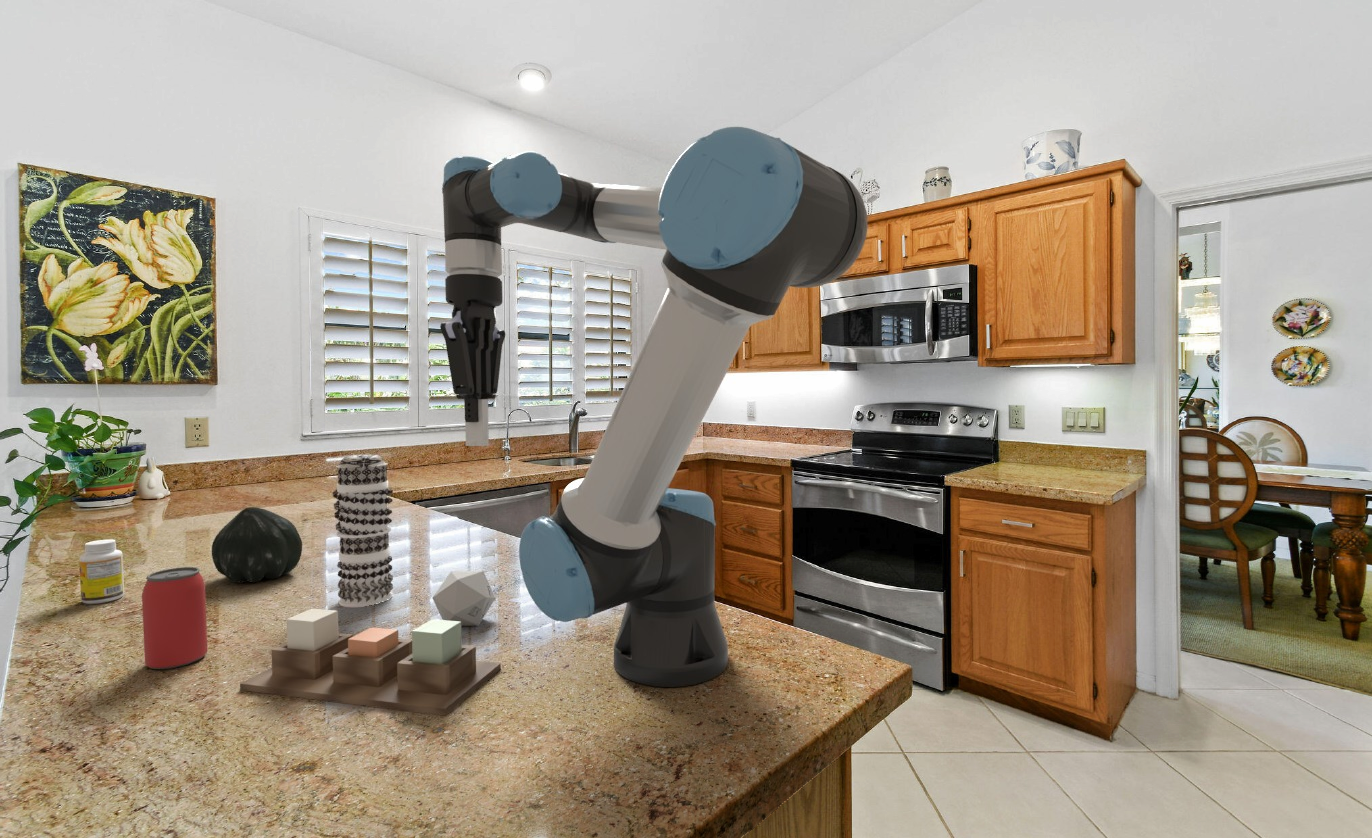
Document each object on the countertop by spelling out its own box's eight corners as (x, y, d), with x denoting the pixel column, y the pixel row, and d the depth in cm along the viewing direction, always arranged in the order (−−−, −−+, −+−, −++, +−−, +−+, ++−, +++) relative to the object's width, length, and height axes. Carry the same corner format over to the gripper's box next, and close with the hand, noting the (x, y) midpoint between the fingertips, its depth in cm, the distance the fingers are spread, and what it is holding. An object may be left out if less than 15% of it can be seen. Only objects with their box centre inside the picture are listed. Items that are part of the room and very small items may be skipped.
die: (459, 641, 93) (498, 583, 95) (412, 610, 94) (452, 553, 96) (476, 640, 100) (512, 587, 103) (433, 611, 102) (469, 559, 104)
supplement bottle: (90, 597, 111) (87, 539, 111) (130, 593, 114) (127, 536, 113) (74, 607, 106) (71, 547, 106) (116, 602, 109) (113, 543, 108)
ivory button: (338, 640, 82) (337, 610, 82) (314, 653, 79) (313, 621, 78) (313, 638, 83) (312, 608, 83) (287, 650, 79) (286, 619, 79)
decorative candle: (366, 610, 104) (361, 459, 103) (323, 605, 107) (318, 457, 106) (407, 593, 112) (403, 454, 111) (366, 588, 115) (362, 452, 114)
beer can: (138, 675, 80) (134, 582, 80) (153, 656, 86) (149, 569, 86) (202, 665, 83) (198, 575, 83) (212, 647, 89) (209, 563, 89)
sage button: (461, 653, 78) (461, 621, 78) (442, 666, 74) (441, 633, 74) (433, 650, 79) (432, 619, 79) (412, 663, 75) (411, 630, 75)
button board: (500, 669, 82) (500, 638, 82) (445, 715, 70) (444, 680, 70) (318, 650, 88) (317, 621, 88) (240, 689, 76) (238, 657, 76)
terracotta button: (399, 660, 81) (398, 629, 80) (376, 674, 77) (376, 642, 76) (372, 657, 81) (371, 627, 81) (348, 671, 78) (347, 639, 77)
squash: (296, 534, 135) (241, 489, 126) (330, 547, 127) (274, 499, 118) (240, 590, 127) (177, 546, 118) (272, 608, 119) (207, 561, 110)
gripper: (475, 285, 95) (478, 441, 96) (420, 269, 82) (424, 449, 83) (521, 283, 93) (523, 442, 94) (472, 266, 81) (475, 450, 82)
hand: (477, 445), depth 89 cm, fingers closed
